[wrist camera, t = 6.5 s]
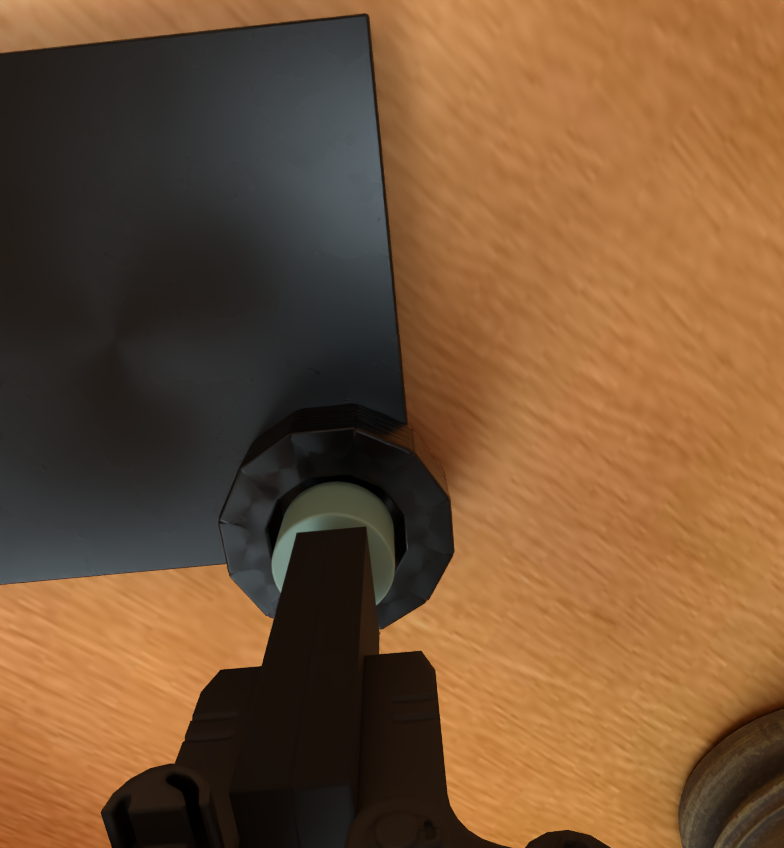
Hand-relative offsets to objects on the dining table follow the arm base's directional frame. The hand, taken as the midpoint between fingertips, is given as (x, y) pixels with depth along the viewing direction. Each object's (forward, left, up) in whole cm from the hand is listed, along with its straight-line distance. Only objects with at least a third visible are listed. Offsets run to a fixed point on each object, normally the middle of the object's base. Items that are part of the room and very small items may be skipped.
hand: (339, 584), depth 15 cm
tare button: (0, 0, -2) cm, 2 cm away
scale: (+5, -5, -5) cm, 9 cm away
